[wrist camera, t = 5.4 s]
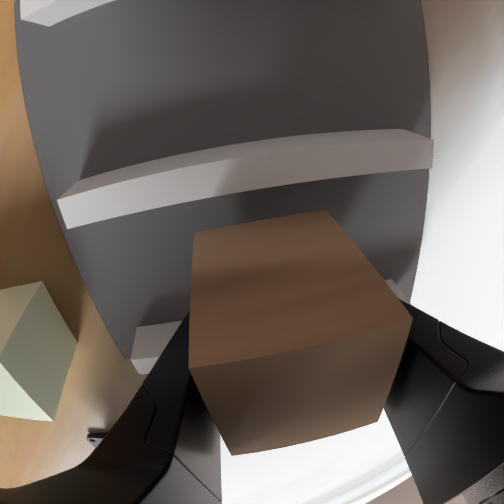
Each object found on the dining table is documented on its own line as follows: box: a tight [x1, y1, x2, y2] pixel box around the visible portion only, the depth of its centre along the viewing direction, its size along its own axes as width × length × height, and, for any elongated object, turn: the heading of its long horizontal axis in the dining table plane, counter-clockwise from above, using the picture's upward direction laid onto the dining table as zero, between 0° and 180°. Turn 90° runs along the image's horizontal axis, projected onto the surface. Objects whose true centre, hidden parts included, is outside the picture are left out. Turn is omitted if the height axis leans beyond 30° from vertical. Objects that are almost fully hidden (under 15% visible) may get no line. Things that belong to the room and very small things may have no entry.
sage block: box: [0, 281, 78, 421], centre depth 11 cm, size 4×4×5 cm
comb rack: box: [14, 0, 433, 375], centre depth 9 cm, size 17×15×2 cm
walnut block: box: [189, 210, 413, 456], centre depth 8 cm, size 4×4×5 cm
